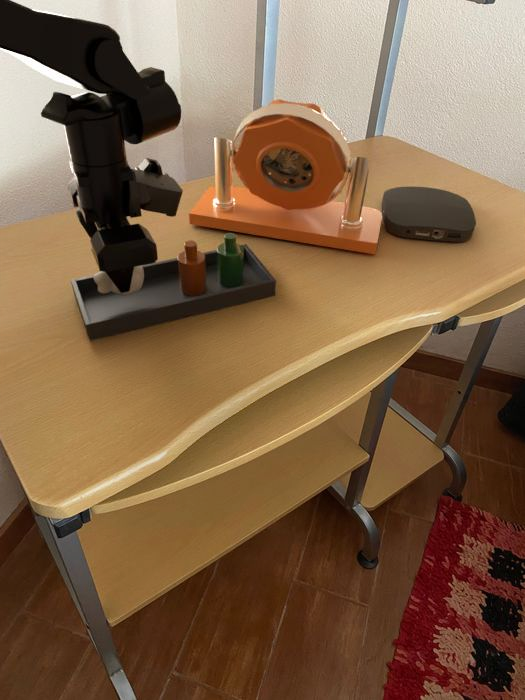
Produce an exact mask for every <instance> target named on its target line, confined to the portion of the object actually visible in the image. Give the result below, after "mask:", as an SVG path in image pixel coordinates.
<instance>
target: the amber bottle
mask: <svg viewBox="0 0 525 700" xmlns="http://www.w3.org/2000/svg"><path fill="white" fill-rule="evenodd" d="M183 245H184V251H181V252H180V253H178V255H177V258H178V270H179V282H180V290H181V292H182V293H183V294H185V295H189V296H197V295H200V294H202V293H204V292H205V291H206V265H205V255H204V254H203V253H204V252H202V251H200V250H198V243H197V241H195V240H186V241H185V242H184V243H183Z"/></svg>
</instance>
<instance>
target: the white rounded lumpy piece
mask: <svg viewBox="0 0 525 700" xmlns="http://www.w3.org/2000/svg"><path fill="white" fill-rule="evenodd" d="M93 275H94V281H95V282H96V283H97V285H98V291H99V292H100V293H108V292H110V291H112V292H114V293H116V294H119V295H130V294H132V293H135V292H136V291H138V290H139V289H140V288H141V287H142V284H143V280H144V270H143V267H142V266H136V267H134V270H133V275H132V281H131V286H130V291H128V292H124V293H121V292H120V291H119V290H118V288H117V287H116V286H115V284H114V283H113V282H112V280H111V279H110V278H109V276H108V275H107V274H106V272H103V271H98V272H96V273H95V274H93Z"/></svg>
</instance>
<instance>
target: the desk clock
mask: <svg viewBox="0 0 525 700" xmlns="http://www.w3.org/2000/svg"><path fill="white" fill-rule="evenodd" d="M242 131H243V132H242ZM241 133H242V136H241V138H240V143H239V145H238V139H239V136H240V134H241ZM347 140H348V139H347V138H346V137H345V134H344V131H343V130H342V129H341V128H339V126H337V125H336V124H335V123H334V122H333V120H331V119H330V118H329V116H328V115H327V114H326V113H325V111H323V109H322V108H321V106H319V105H317V104H315V103H314V102H313V103H312V102H311V103H308V102H307V103H303V102H296V101H295V102H294V101H288V100H283V99H280V98H279V99H275V100H274V99H273V100H271V102H270V103H269V104H268V105H265V106H261V107H259V108H258V109H256V110H252V111H251V113H249V114H248V115H247V116H246V117H244V118H243V120H242V121H241V122H240V124H239V125H238V127H237V130H236V131H235V135H234V139H233V141H232V140H229V139H226V138H222V137H214V138H213V141H214V143H213V144H214V145H213V146H214V147H213V148H214V180H215V181H214V184H215V185H212V186H210V187H208V188H207V189H206V191H204V193H203V194H202V196H201V197H200V198H199V199H198V201H197V202H196V203H195V205H194V206H193V207H192V209H191V210H190V211H189V212H188V220H189V225H193V226H201V227H204V228H212V229H218V230H224V231H229V232H236V233H242V234H249V235H254V236H261V237H265V238H266V237H267V238H273V239H278V240H285V241H291V242H298V243H303V244H308V245H315V246H320V247H321V246H322V247H328V248H333V249H341V250H345V251H346V250H347V251H351V252H359V253H364V254H371V255H376V251H377V246H378V241H379V236H380V232H381V231H380V230H381V224H382V221H383V216H382V211H380V210H378V209H375V208H373V207H369V206H366V205H364V200H365V196H366V191H367V185H368V178H369V173H370V167H371V162H372V160H371V159H370V158H367V157H362V156H352V155H351V148H350V147H349V144H348V141H347ZM233 170H234V172H235V174H236V176H237V178H238V179H239V180H240V182H241V184H242V185H243V186H244V187H241V186H236V185H235V186H233ZM347 180H348V182H347ZM346 183H347V189H346V195H345V201H344V202H341V201H335V200H334V199H336V198H337V197H338V196H339V194H341V193H342V191H343V189H344V187H345V185H346Z"/></svg>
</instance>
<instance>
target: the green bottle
mask: <svg viewBox="0 0 525 700" xmlns="http://www.w3.org/2000/svg"><path fill="white" fill-rule="evenodd" d="M241 245H242V244H240V243H237V235H236V234H235V233H234V232H227V233H225V234H224V235H223V243H220V244H219V245H218V246H217V248H216V250H217V274H218V282H219V283H220V284H221V285H223V286H226V287H236V286H238V285H240V284H241V283H242V282H243V264H244V248H243V247H242V246H241Z"/></svg>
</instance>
